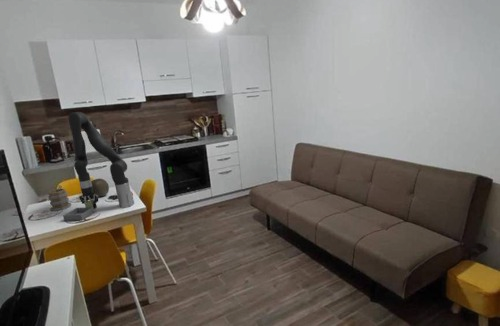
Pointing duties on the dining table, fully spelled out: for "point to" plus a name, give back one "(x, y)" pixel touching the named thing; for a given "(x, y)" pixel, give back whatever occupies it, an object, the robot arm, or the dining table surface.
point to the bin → (78, 214)
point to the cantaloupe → (100, 187)
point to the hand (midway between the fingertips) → (91, 208)
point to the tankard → (59, 199)
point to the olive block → (89, 204)
